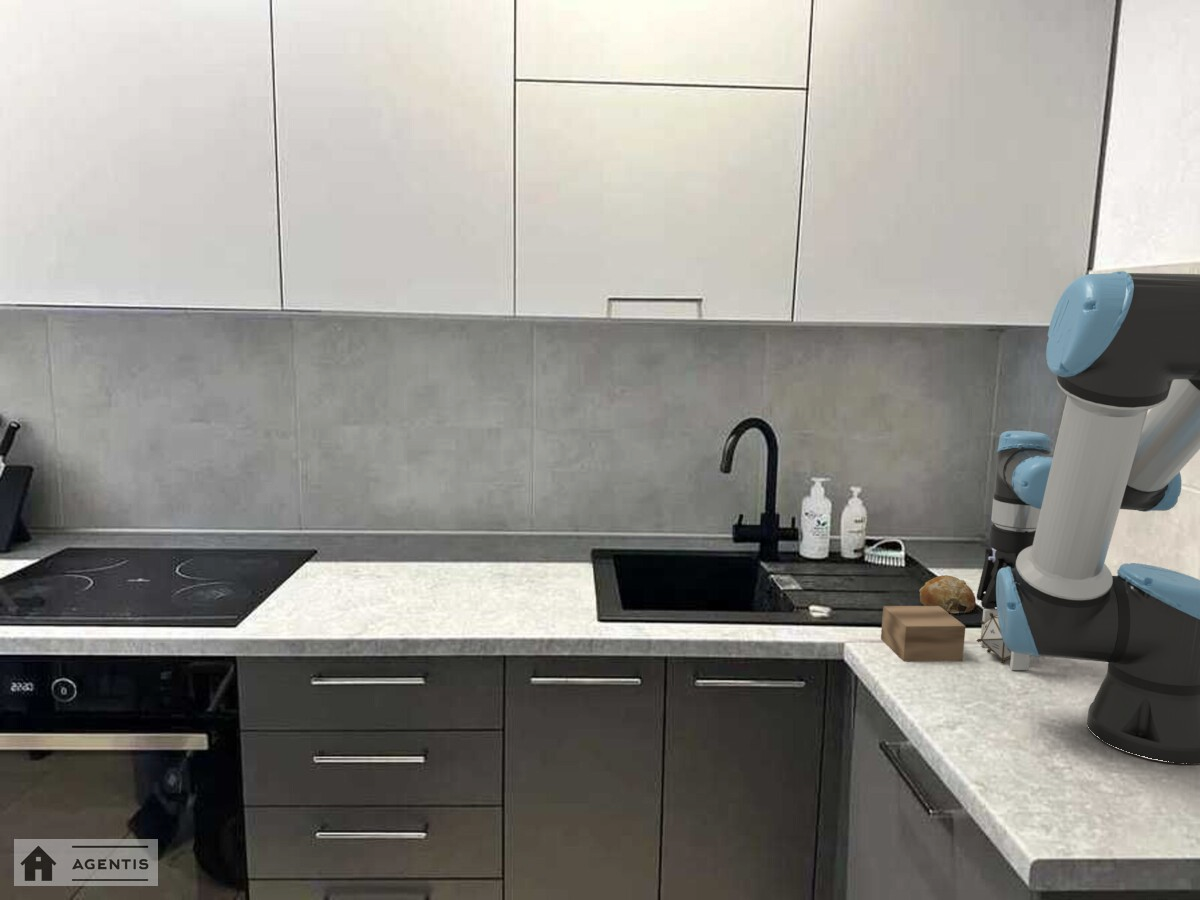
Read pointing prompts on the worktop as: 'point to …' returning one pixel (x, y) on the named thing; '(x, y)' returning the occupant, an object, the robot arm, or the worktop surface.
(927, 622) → the walnut block
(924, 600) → the bread roll
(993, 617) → the game die
